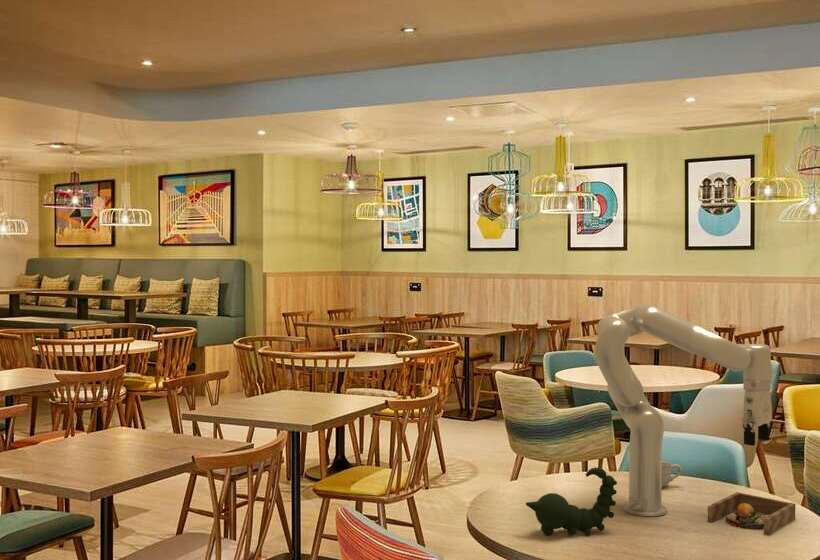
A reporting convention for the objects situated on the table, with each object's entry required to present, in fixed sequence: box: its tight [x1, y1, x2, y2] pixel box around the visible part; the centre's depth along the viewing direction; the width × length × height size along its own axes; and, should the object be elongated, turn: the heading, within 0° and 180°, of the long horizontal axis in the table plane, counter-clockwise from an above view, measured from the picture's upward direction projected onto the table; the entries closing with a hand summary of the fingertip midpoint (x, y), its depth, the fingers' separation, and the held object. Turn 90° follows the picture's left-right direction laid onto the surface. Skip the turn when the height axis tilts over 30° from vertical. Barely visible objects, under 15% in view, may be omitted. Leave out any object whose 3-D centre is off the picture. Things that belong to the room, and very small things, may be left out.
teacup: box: [662, 460, 683, 488], centre depth 285 cm, size 14×11×8 cm
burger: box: [725, 502, 767, 531], centre depth 246 cm, size 12×12×8 cm
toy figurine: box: [525, 467, 618, 537], centre depth 237 cm, size 10×19×26 cm
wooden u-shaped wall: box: [707, 491, 796, 536], centre depth 248 cm, size 20×17×4 cm
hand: (756, 442), depth 255 cm, fingers open, 9 cm apart
